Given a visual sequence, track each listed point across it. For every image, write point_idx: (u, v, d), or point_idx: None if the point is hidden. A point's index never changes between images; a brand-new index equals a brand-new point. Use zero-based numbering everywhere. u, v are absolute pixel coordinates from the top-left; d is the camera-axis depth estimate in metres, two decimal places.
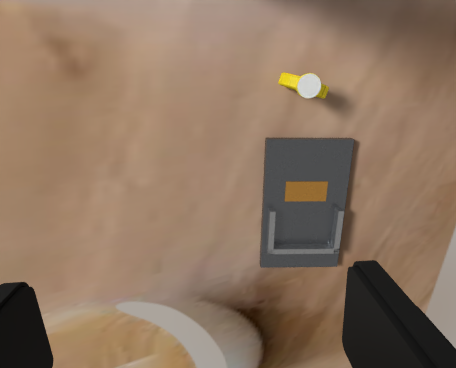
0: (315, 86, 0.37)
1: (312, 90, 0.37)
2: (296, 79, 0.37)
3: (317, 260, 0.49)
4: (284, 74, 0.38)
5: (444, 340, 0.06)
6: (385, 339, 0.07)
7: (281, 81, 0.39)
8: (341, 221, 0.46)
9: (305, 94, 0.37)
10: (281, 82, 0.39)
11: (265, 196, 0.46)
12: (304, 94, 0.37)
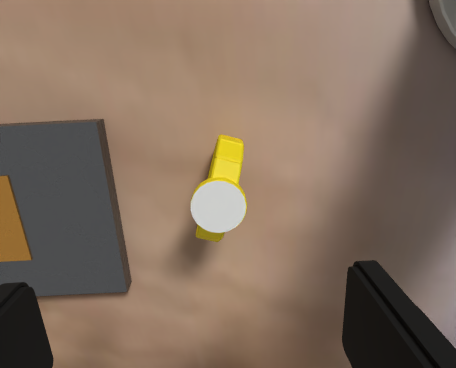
0: (218, 221, 0.16)
1: (209, 216, 0.16)
2: (231, 176, 0.16)
3: None
4: (239, 146, 0.17)
5: (444, 340, 0.06)
6: (385, 339, 0.07)
7: (224, 141, 0.17)
8: None
9: (198, 201, 0.15)
10: (222, 141, 0.17)
11: None
12: (198, 198, 0.15)
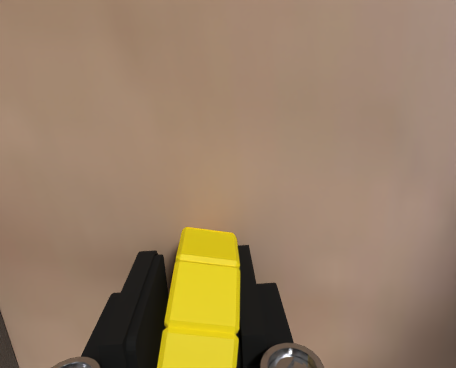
0: None
1: None
2: None
3: None
4: (230, 272, 0.07)
5: (258, 306, 0.07)
6: None
7: (190, 261, 0.07)
8: None
9: None
10: (184, 264, 0.07)
11: None
12: None
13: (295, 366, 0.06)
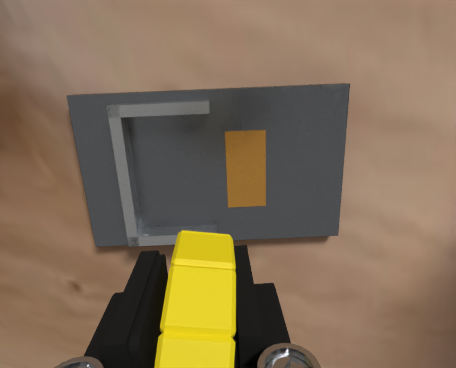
0: None
1: None
2: None
3: (102, 209, 0.25)
4: (225, 274, 0.07)
5: (256, 306, 0.07)
6: None
7: (185, 265, 0.07)
8: None
9: None
10: (179, 268, 0.07)
11: (233, 91, 0.23)
12: None
13: (292, 366, 0.06)
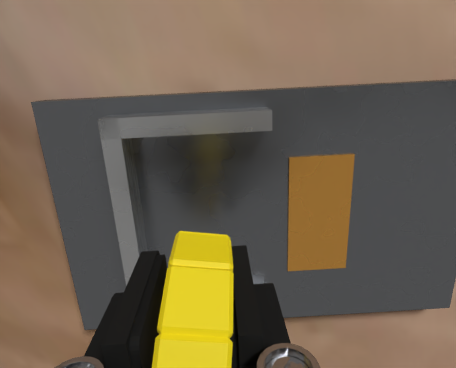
0: None
1: None
2: None
3: (94, 276, 0.16)
4: (223, 275, 0.07)
5: (255, 306, 0.07)
6: None
7: (182, 266, 0.07)
8: None
9: None
10: (176, 269, 0.07)
11: (307, 92, 0.14)
12: None
13: (291, 366, 0.06)
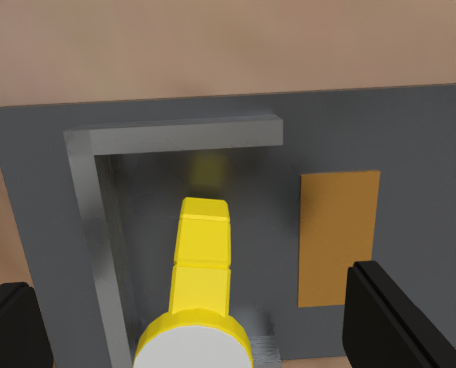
0: None
1: None
2: (211, 301, 0.07)
3: (68, 315, 0.14)
4: (222, 225, 0.09)
5: (444, 340, 0.06)
6: (385, 339, 0.07)
7: (191, 219, 0.09)
8: None
9: None
10: (186, 220, 0.09)
11: (324, 97, 0.11)
12: (145, 366, 0.07)
13: None
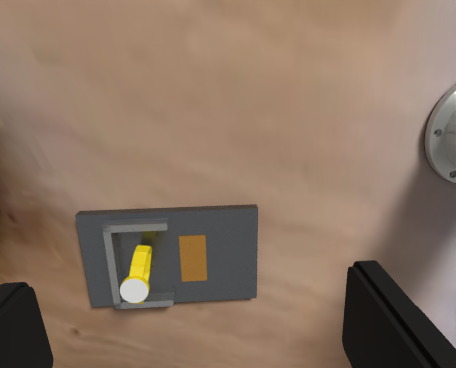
0: (135, 297, 0.31)
1: (130, 295, 0.31)
2: (139, 274, 0.31)
3: (97, 283, 0.37)
4: (145, 255, 0.33)
5: (444, 340, 0.06)
6: (385, 339, 0.07)
7: (136, 253, 0.33)
8: (159, 305, 0.37)
9: (123, 289, 0.31)
10: (135, 253, 0.33)
11: (184, 213, 0.35)
12: (123, 288, 0.31)
13: None
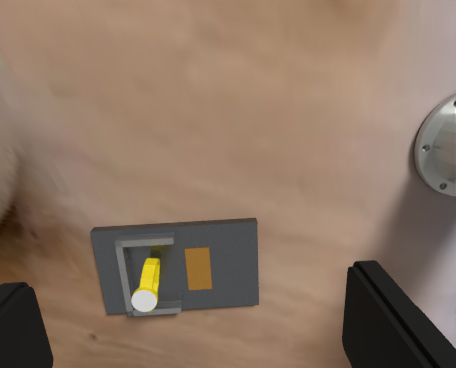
0: (145, 306, 0.35)
1: (140, 305, 0.35)
2: (148, 285, 0.35)
3: (111, 292, 0.41)
4: (153, 267, 0.36)
5: (444, 340, 0.06)
6: (385, 339, 0.07)
7: (146, 266, 0.36)
8: (168, 312, 0.40)
9: (134, 299, 0.34)
10: (145, 266, 0.36)
11: (188, 227, 0.38)
12: (134, 298, 0.34)
13: None
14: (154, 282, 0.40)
